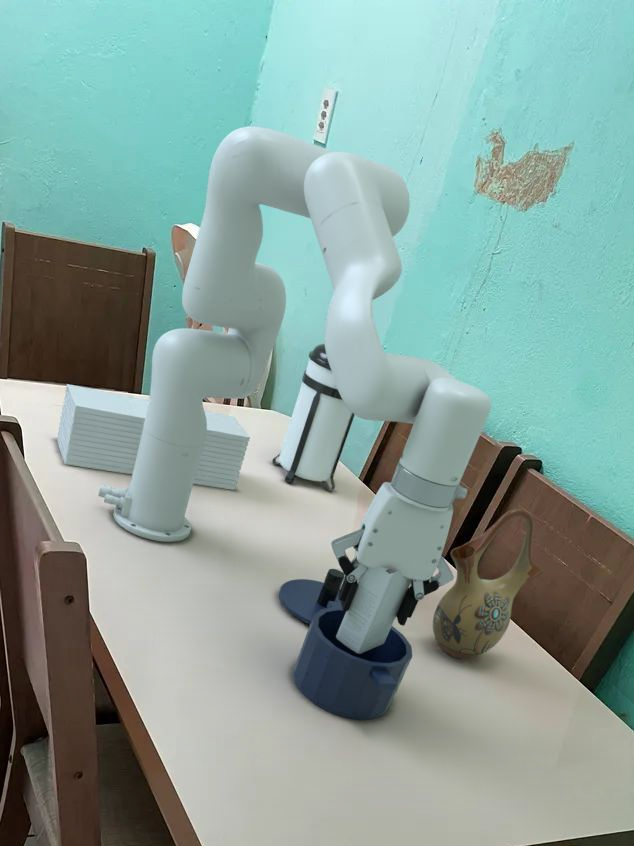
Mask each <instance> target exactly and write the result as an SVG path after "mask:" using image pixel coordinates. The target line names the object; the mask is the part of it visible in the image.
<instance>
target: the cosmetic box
mask: <svg viewBox="0 0 634 846" xmlns="http://www.w3.org/2000/svg"><path fill="white" fill-rule="evenodd" d="M411 581H412V579H409V578H405V577H403V576H402V572H399V571H395V570H392V569H388V568H384V567H380V566H378V567H377V568H376V569H372V568H368V570H367V571H366V572H365V573H364V574H363V575H362V576H361V577H360V579H359V578H358V581H357V583H358V588H357V591H356V593H355V596H354V598H353V601H352V603H351V606H350V608H349V611H346V613H345V616H344V618H343V621H342V623H341V625H340V628H339V630H338V633H337V635H336V638H337V639H338V640H339V641H340V642H341V643H343V644H344V645H345V646H347V647H348V648H350V649H351V650H353V651H354V652H356V653H358V654H361V653H363V652H365V651H368V650H370V649H372V648H375V647H377V646H380V645H382V644H384V642H385V640H386V638H387V636H388V633H389V631H390V629H391V626H393V624H394V622H395V620H396V618H397V617H396V615H397V613H398V610H399V608H400V606H401V604H402V601H403V599H404V597H405V594H406V592H407V590H408V588H410V586H411Z"/></svg>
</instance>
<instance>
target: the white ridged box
mask: <svg viewBox="0 0 634 846" xmlns="http://www.w3.org/2000/svg"><path fill="white" fill-rule="evenodd" d="M65 389H66V390H65V393H64V398H63V405H62V410H61V414H60V422H59V427H58V431H57V437H56V442H57V445H58V448H59V451H60V454H61V457H62V460H63V463H64V465H67V466H75V467H81V468H88V469H92V470H93V469H95V470H101V471H108V472H114V473H121V474H127V475H131V476H132V475H133V470H134V466H135V462H136V457H137V453H138V449H139V444H140V440H141V436H142V431H143V427H144V422H145V417H146V413H147V408H148V403H149V399H147V398H141V397H136V396H131V395H125V394H121V393H116V392H112V391H111V392H110V391H105V390H101V389H100V390H99V389H96V388H90V387H86V386H85V387H84V386H79V385H74V384H69V383H66V387H65ZM204 412H205V415H206V420H207V432H206V437H205V441H204V445H203V449H202V452H201V456H200V460H199V464H198V467H197V471H196V475H195V478H194V482H193V485H199V486H207V487H211V488H217V489H218V488H219V489H226V490H232V491H235V490H236V488H237V487H236V486H237V484H238V480H239V476H240V473H241V470H242V466H243V464H244V463H243V462H244V460H245V457H246V452H247V449H248V446H249V442H250V439H251V436H249V434H248V433H247V432H246V430H245V429H244V428H243V426H242V425H241V424H240V423H239V422H238V420H237V419H236V417H235V416H234V415H229V414H225V413H219V412H214V411H208V410H204Z"/></svg>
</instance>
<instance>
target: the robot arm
mask: <svg viewBox="0 0 634 846" xmlns="http://www.w3.org/2000/svg"><path fill="white" fill-rule="evenodd" d="M406 184H407V183H406V182H405V180H404V179H403V177H402V176H401V175H400V173H399V172H397V171H396V170H395V169H394V168H392V167H389V166H388V165H385V164H382V163H380V162H377V161H375V160H372V159H369V158H366V157H364V156H360V155H358V154H355V153H352V152H347V151H332V150H331V149H328V148H324V147H322V146H320V145H316V144H314V143H311V142H308V141H305V140H303V139H301V138H298V137H296V136H293V135H291V134H288V133H284V132H282V131H280V130H275V129H271V128H267V127H263V126H254V125H253V126H252V125H251V126H243V127H242V126H241V127H239V128H237V129H234V130H232V131H231V132H230V133H229V134H227V135H226V136H225V137H224V138H223V139H222V141H221V142H220V143H219V144H218V146H217V148H216V150H215V153H214V154H213V157H212V160H211V164H210V167H209V173H208V179H207V189H206V198H205V206H204V211H203V214H202V218H201V222H200V226H199V228H198V231H197V232H198V233H197V235H196V239H195V243H194V246H193V250H192V254H191V257H190V261H189V265H188V269H187V271H186V274H185V278H184V283H183V287H182V293H181V303H182V308H183V311H184V312H185V314H186V315H187V316H188V317H189V318H190V319H191V320H193V321H195V322H197V323H200V324H203V325H208V326H213V327H218V328H226V329H227V333H226V332H218V331H213V330H205V329H197V328H188V327H187V328H186V327H184V328H183V327H182V328H175V329H171V330H169V331H167V332H165V333H163V334H162V335H161V336H160V337H159V338H158V339H157V341H156V342H155V344H154V347H153V350H152V357H151V378H150V391H149V398H148V400H149V403H148V408H147V413H146V417H145V422H144V427H143V431H142V436H141V440H140V444H139V449H138V453H137V457H136V462H135V466H134V470H133V475H132V474H131V480H130V484H128V485H127V488H122V487H121V488H120V489H118V488H115V487H112V486H108V485H106V484H100V486H99V491H98V497H101V498H104V501H103V503H104V504H109V505H115V507H114V510H113V518H114V520H115V522H116V523H117V525H119V526H120V527H121V528H123V529H124V530H126V531H127V532H129V533H131V534H133V535H135V536H138V537H141V538H143V539H147V540H151V541H156V542H164V543H173V542H181V541H183V540H185V539H187V538H188V537H189V536H190V533H191V530H192V524H191V522H190V521H189V520H188V518H187V517H186V516H185V515H186V512H187V508H188V505H189V501H190V497H191V493H192V490H193V485H194V484H193V482H194V478H195V475H196V471H197V467H198V464H199V460H200V456H201V452H202V449H203V445H204V441H205V437H206V432H207V420H206V415H205V412H204V411H205V409H204V405H203V401H204V399H210V398H213V399H229V400H230V399H231V400H232V399H233V400H237V399H243V398H247V397H249V396H250V395H252V394H253V393H254V392H255V391H256V390H257V388H258V386H259V385H260V383H261V381H262V379H263V376H264V374H265V371H266V370H267V369H266V368H267V366H268V363H269V360H270V357H271V355H272V352H273V349H274V347H275V344H276V341H277V338H278V335H279V333H280V329H281V326H282V323H283V320H284V317H285V313H286V307H287V291H286V287H285V283H284V281H283V279H282V277H281V275H280V274H279V272H278V271H277V270H276V269H274V268H273V267H271V266H270V265H267V264H264V263H261V262H257V257H258V253H259V250H260V248H261V244H262V241H263V237H264V223H263V216H262V215H263V214H262V210H261V207H260V205H261V206H262V205H263V206H266V207H269V208H273V209H277V210H280V211H283V212H287V213H291V214H294V215H297V216H301V217H304V218H307V219H310V221H311V224H312V227H313V230H314V233H315V235H316V239H317V242H318V245H319V248H320V250H321V253H322V254H321V255H322V257H323V260H324V262H325V266H326V270H327V272H328V276H329V278H330V281H331V284H332V288H333V295H332V297H331V300H330V302H329V305H328V308H327V313H326V318H325V327H324V344H325V350H326V355H327V359H328V362H329V365H330V368H331V371H332V374H333V377H334V380H335V383H336V386H337V389H338V391H339V394H340V396H341V398H342V399H343V401H344V403H345V405H346V406H347V407H348V408H349V410H350V411H351V412H352V413H354V414H355V415H354V416H356V417H358V418H360V419H362V420H367V421H376V422H394V423H395V422H397V423H405V424H410V425H411V424H412V427H411V429H410V433H409V434H408V437H407V440H406V443H405V445H404V448H403V451H402V453H401V456H400V458H399V461H398V463H397V465H396V468H395V471H394V473H393V475H392V479H391V481H390V482H389V481H385V482H383V483H382V484H381V485H380V487H379V489H378V491H377V492H376V494H375V495H374V497H373V499H372V501H371V502H370V505H369V507H368V509H367V511H366V513H365V515H364V516H363V519H362V520H361V522H360V525H359V527H358V529H357V530H355V531H352V532H350V533H347V534H345V535H342V536H340V537H338V538H335V539H333V540H332V541H331V548H332V552H333V554H334V556H335V558H336V560H337V562H338V565H339V567H340V568H341V572H343V573H344V575H345V576H344V579H343V582H342V584H341V587H340V591H339V594H338V600H340V601H341V606H342V610H343V611H349V608H350V606H351V603H352V601H353V598H354V596H355V593H356V591H357V588H358V581H359V577H360V576H362V575H363V574H364V573H365V572H366V571H367V570H368V568H372V569H376V568H377V567H378V566H380V567H384V568H388V569H392V570H395V571H399V572H402V576H403V577H405V578H409V579H412V581H411V583H410V586H409V588H408V590H407V592H406V594H405V597H404V599H403V601H402V604H401V606H400V608H399V610H398V613H397V615H396V617H395V618H396V620H397V623H398V624H399V625H400V626H405V625H406V623H407V621H408V619H411V618H412V617H413V614H414V613H415V610H416V608H417V605H418V602H419V601H421V600H422V601H423V599H424V598H425V596H427V595H430V594H431V593H433V592H435V591H437V590H439V588H440V587H443V586H446V584H449V583H450V582H452V581H453V580H454V579H455V576H454V574H453V571H452V570H451V568H450V566H449V565H448V563H447V562H446V559H445V558H444V556H443V551H444V549H445V546H446V542H447V538H448V535H449V532H450V527H451V523H452V519H453V514H454V506H453V503H454V501H455V500H465V499H466V498H467V495H468V488H466V487H463V486H462V485H461V484H460V483H461V480H462V478H463V476H464V474H465V471H466V469H467V467H468V465H469V462H470V460H471V457H472V455H473V453H474V450H475V448H476V446H477V444H478V441H479V439H480V437H481V434H482V432H483V430H484V427H485V426H486V425H485V424H486V423H487V420H488V417H489V415H490V413H491V410H492V409H491V408H492V401H491V398H490V397H489V395H488V394H487V393H486V392H484V391H483V390H482V389H480V388H478V387H476V386H473V385H472V384H469V383H467V382H464V381H462V380H459V379H457V378H456V377H454V376H453V374H451V373H449V372H448V371H447V370H446V369H445V367H443V366H441V365H440V364H438V363H437V362H435V361H433V360H430V359H429V358H425V357H424V358H423V357H419V356H412V355H411V356H410V355H405V354H399V353H398V354H397V353H390V352H385V351H384V348H383V346H382V342H381V340H380V337H379V333H378V331H377V328H376V324H375V319H374V316H373V315H374V314H373V301H374V300H376V299H377V298H380V297H381V296H383V295H384V294H386V293H387V292H388V291H390V290H391V289H392V288H393V287H394V286H395V285H396V284H397V282H398V281H399V279H400V277H401V275H402V271H403V264H402V260H401V257H400V255H399V251H398V249H397V246H396V242H395V240H394V237H395V236H396V235H397V234H399V233H400V232H401V230H402V229H403V228H404V226H405V224H406V222H407V219H408V217H409V213H410V206H411V202H410V201H411V200H410V194H409V188H408V186H407V185H406ZM352 547H353V548H352ZM351 548H352V549H354V551H355V550H356V551H357V552H358V554H357V556H356V557H355V558H354V557H353V559H352V560H350V558H349V557H348V554H347V553H346V550H348V549H351ZM436 569H437V570H438V572H437V573H436V574H435V572H436ZM434 574H435V575H434Z"/></svg>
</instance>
